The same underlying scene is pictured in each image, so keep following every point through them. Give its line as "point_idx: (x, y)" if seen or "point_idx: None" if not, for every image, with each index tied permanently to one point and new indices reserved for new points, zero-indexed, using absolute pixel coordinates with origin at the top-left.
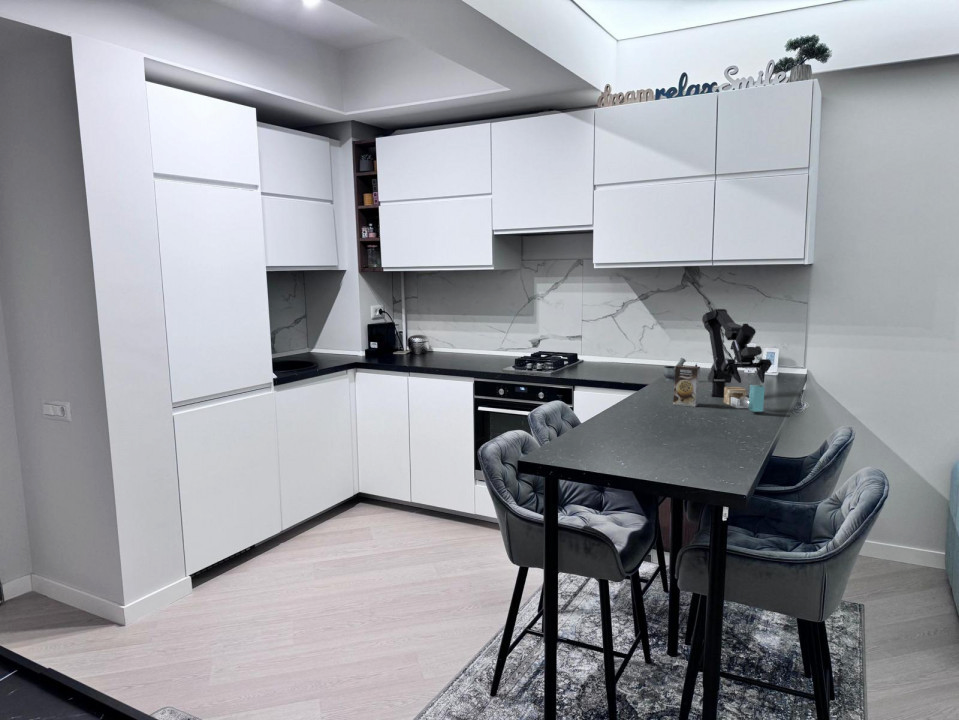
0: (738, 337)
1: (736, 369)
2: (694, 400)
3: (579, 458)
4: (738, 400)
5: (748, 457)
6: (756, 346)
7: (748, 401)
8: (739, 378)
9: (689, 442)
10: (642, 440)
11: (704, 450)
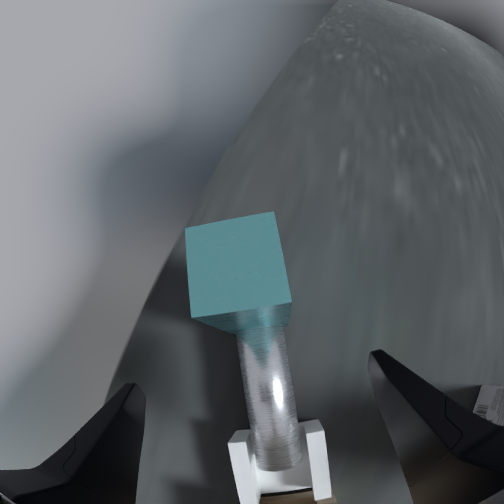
0: None
1: (469, 448)
2: (499, 385)
3: (477, 43)
4: (315, 431)
5: (342, 14)
6: None
7: (280, 358)
8: (398, 368)
9: (421, 47)
10: (471, 64)
11: (394, 29)
